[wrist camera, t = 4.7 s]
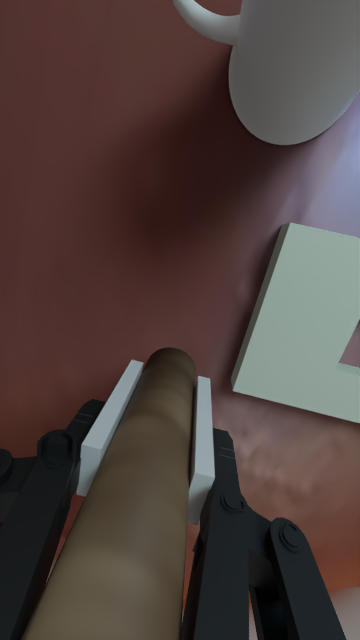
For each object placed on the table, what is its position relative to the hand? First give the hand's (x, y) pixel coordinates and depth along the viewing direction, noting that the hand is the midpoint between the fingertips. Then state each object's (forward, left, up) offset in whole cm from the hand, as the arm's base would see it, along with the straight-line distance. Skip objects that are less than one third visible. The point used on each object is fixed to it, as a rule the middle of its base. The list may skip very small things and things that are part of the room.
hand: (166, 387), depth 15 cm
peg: (0, 0, -2) cm, 2 cm away
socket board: (+16, +5, -7) cm, 18 cm away
